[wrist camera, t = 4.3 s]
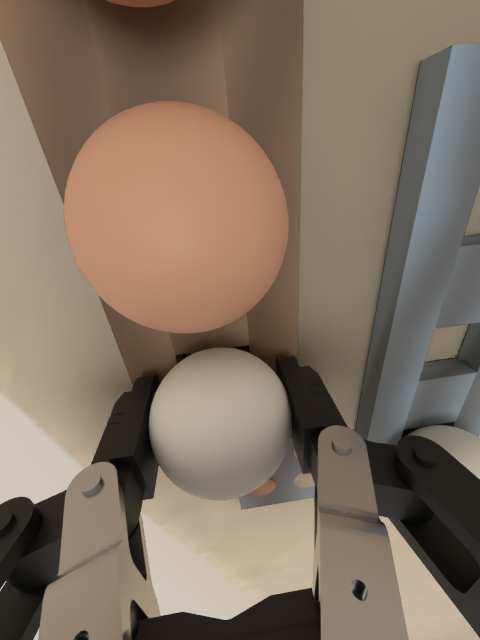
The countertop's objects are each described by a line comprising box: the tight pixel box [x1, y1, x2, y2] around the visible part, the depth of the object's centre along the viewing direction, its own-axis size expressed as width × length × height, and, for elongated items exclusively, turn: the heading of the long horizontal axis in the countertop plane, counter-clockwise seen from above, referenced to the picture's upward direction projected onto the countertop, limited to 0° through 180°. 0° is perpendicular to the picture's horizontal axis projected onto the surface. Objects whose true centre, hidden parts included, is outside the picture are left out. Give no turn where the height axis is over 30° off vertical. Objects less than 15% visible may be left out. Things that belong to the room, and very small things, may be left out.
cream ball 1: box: [149, 347, 292, 500], centre depth 10 cm, size 5×5×5 cm
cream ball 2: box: [407, 425, 480, 479], centre depth 14 cm, size 5×5×5 cm
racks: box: [0, 0, 480, 510], centre depth 11 cm, size 18×30×1 cm, turn 5°
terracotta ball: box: [64, 101, 289, 334], centre depth 7 cm, size 5×5×5 cm
